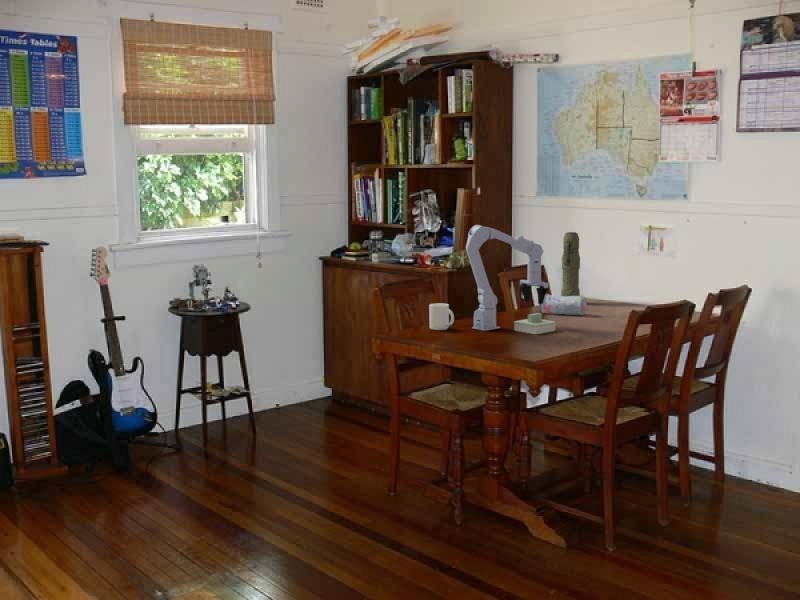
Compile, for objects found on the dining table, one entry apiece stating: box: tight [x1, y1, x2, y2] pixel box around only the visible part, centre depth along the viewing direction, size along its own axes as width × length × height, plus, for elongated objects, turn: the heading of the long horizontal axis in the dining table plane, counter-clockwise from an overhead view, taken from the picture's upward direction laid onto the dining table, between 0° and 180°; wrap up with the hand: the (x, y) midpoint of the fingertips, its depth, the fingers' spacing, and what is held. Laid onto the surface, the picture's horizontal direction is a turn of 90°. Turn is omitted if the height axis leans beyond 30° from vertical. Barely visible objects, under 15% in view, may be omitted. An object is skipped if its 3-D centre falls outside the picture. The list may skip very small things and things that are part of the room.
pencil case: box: [538, 293, 588, 316], centre depth 429 cm, size 21×9×10 cm, turn 60°
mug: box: [428, 302, 455, 331], centre depth 397 cm, size 12×8×10 cm
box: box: [513, 322, 556, 335], centre depth 391 cm, size 12×12×3 cm
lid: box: [513, 312, 557, 327], centre depth 391 cm, size 12×12×5 cm
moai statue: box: [560, 231, 581, 296], centre depth 457 cm, size 9×12×35 cm
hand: (533, 302), depth 399 cm, fingers open, 7 cm apart
